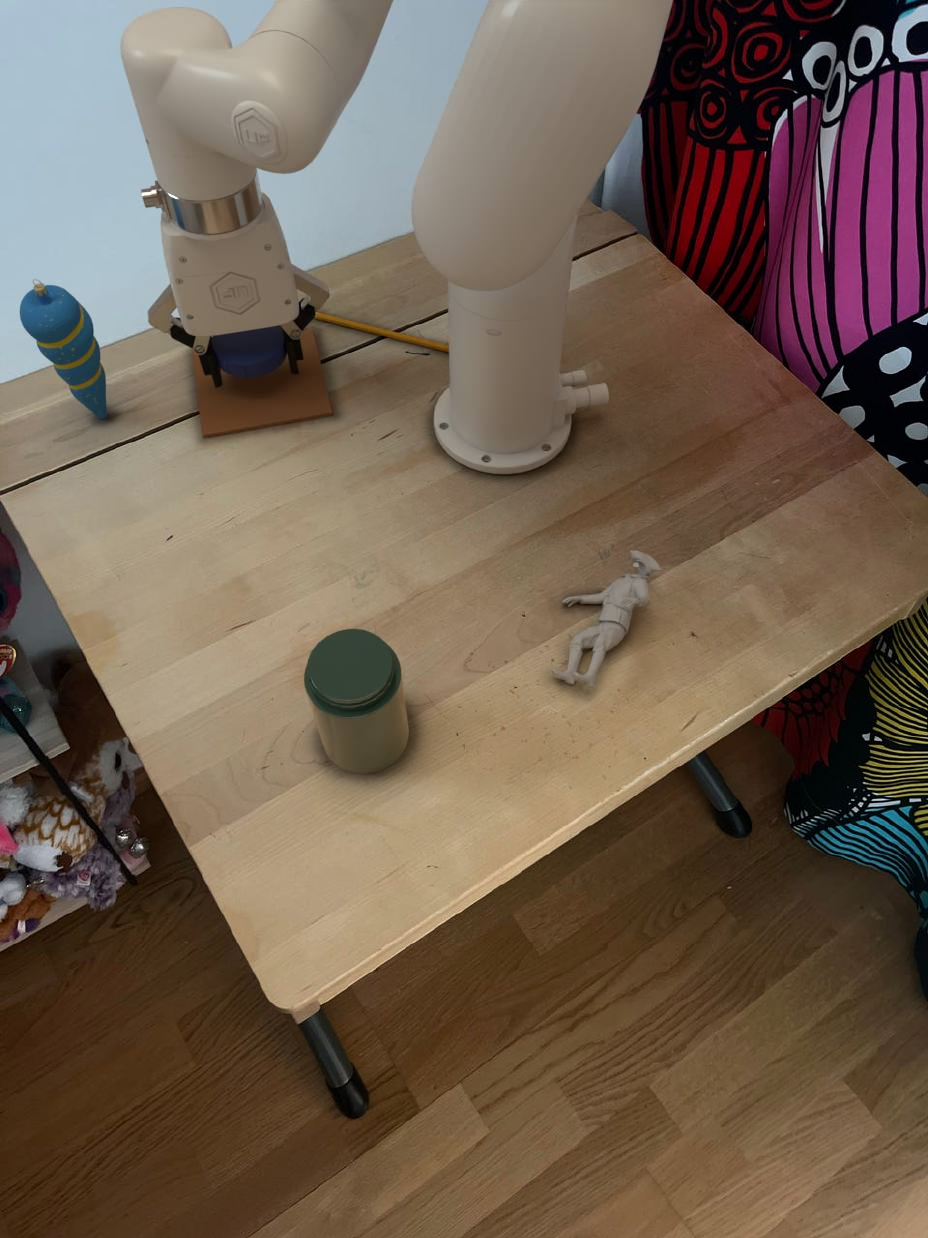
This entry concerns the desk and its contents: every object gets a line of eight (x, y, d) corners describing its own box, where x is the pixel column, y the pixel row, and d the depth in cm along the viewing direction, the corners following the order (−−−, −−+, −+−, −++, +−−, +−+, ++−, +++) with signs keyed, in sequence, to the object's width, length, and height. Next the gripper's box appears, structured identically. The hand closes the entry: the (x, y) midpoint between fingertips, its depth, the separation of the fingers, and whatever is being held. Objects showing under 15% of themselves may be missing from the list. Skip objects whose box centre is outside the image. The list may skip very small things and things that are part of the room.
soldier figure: (525, 669, 72) (581, 535, 74) (568, 694, 74) (621, 563, 76) (589, 679, 65) (649, 531, 67) (634, 706, 67) (690, 562, 70)
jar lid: (281, 322, 87) (278, 309, 85) (292, 371, 83) (290, 357, 82) (211, 334, 86) (207, 320, 84) (219, 383, 82) (215, 370, 81)
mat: (313, 331, 92) (312, 328, 91) (332, 415, 85) (332, 412, 85) (192, 351, 90) (191, 348, 90) (203, 438, 84) (202, 435, 83)
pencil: (480, 357, 90) (480, 351, 89) (477, 362, 89) (478, 355, 89) (305, 313, 93) (304, 306, 93) (302, 317, 93) (301, 310, 92)
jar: (399, 687, 70) (389, 613, 61) (417, 763, 66) (409, 695, 58) (315, 706, 69) (293, 633, 60) (330, 783, 65) (308, 718, 57)
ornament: (116, 441, 84) (53, 305, 71) (63, 433, 84) (-8, 296, 72) (138, 401, 86) (81, 263, 74) (87, 394, 87) (22, 256, 74)
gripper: (100, 240, 68) (165, 414, 83) (330, 207, 71) (353, 382, 86) (97, 182, 72) (160, 359, 87) (315, 153, 74) (339, 330, 90)
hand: (255, 369), depth 86 cm, fingers closed on jar lid, 6 cm apart
